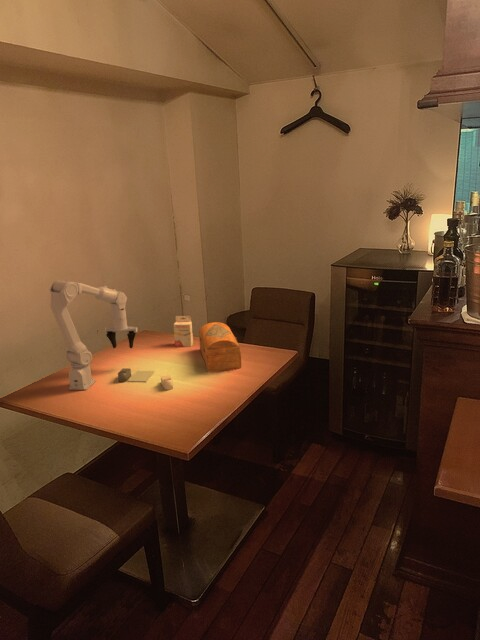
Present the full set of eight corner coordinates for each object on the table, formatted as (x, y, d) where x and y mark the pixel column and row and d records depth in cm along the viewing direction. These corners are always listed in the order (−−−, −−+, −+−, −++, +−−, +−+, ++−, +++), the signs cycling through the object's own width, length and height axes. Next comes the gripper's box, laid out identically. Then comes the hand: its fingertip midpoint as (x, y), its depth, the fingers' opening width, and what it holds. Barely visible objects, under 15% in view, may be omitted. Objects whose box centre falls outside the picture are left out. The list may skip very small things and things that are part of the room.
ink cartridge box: (174, 346, 236) (172, 318, 232) (177, 343, 241) (174, 315, 237) (191, 346, 235) (189, 318, 231) (193, 343, 240) (191, 315, 236)
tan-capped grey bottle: (125, 382, 195) (124, 374, 194) (117, 382, 196) (116, 374, 195) (133, 373, 204) (132, 366, 203) (125, 373, 204) (124, 366, 203)
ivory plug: (173, 389, 186) (173, 380, 185) (165, 390, 185) (164, 382, 184) (168, 380, 195) (167, 373, 194) (160, 382, 193) (159, 374, 192)
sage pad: (146, 382, 194) (146, 381, 194) (127, 381, 196) (127, 380, 196) (154, 371, 205) (154, 370, 205) (137, 371, 206) (137, 370, 206)
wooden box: (243, 368, 204) (242, 338, 200) (206, 372, 202) (204, 342, 198) (233, 346, 233) (231, 319, 229) (199, 350, 230) (197, 322, 226)
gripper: (138, 315, 208) (141, 344, 211) (107, 315, 210) (111, 344, 213) (133, 319, 201) (136, 349, 205) (100, 320, 203) (104, 349, 207)
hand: (123, 347), depth 208 cm, fingers open, 7 cm apart
